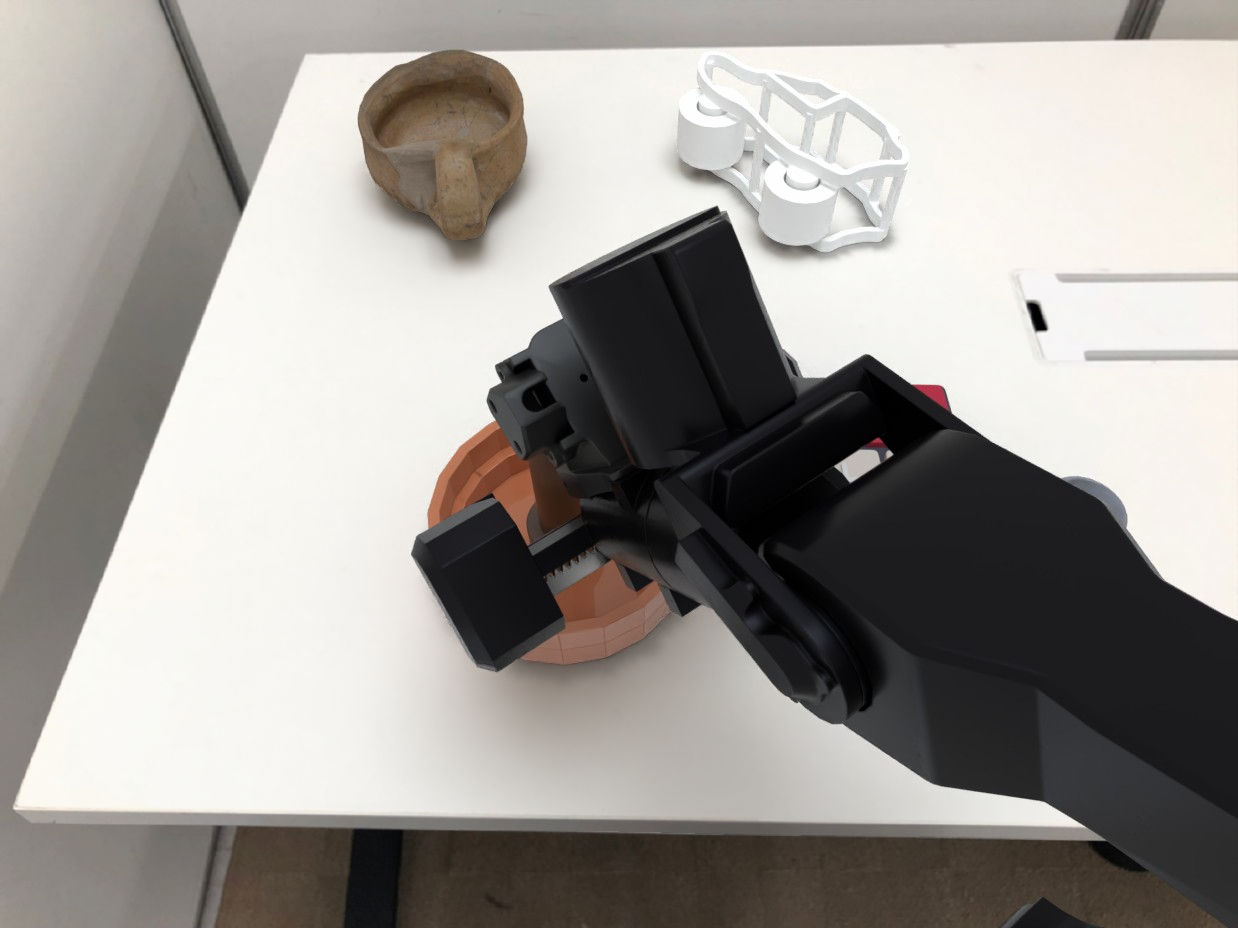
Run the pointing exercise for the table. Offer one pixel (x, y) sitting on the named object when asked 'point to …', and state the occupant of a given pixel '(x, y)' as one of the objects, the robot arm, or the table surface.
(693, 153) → the wheeled car silhouette
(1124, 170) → the table surface
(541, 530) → the pestle
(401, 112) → the tan clay cup
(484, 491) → the mixing bowl
